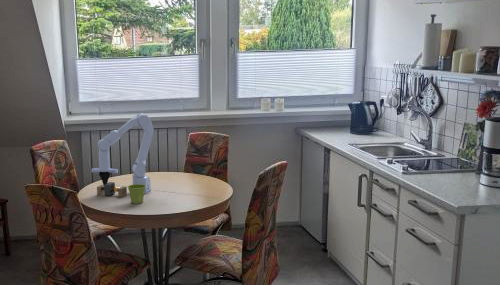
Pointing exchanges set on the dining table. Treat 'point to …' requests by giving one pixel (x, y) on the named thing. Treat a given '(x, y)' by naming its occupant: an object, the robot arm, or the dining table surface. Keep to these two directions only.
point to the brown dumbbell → (121, 190)
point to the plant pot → (136, 193)
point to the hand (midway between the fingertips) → (105, 185)
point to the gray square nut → (109, 188)
